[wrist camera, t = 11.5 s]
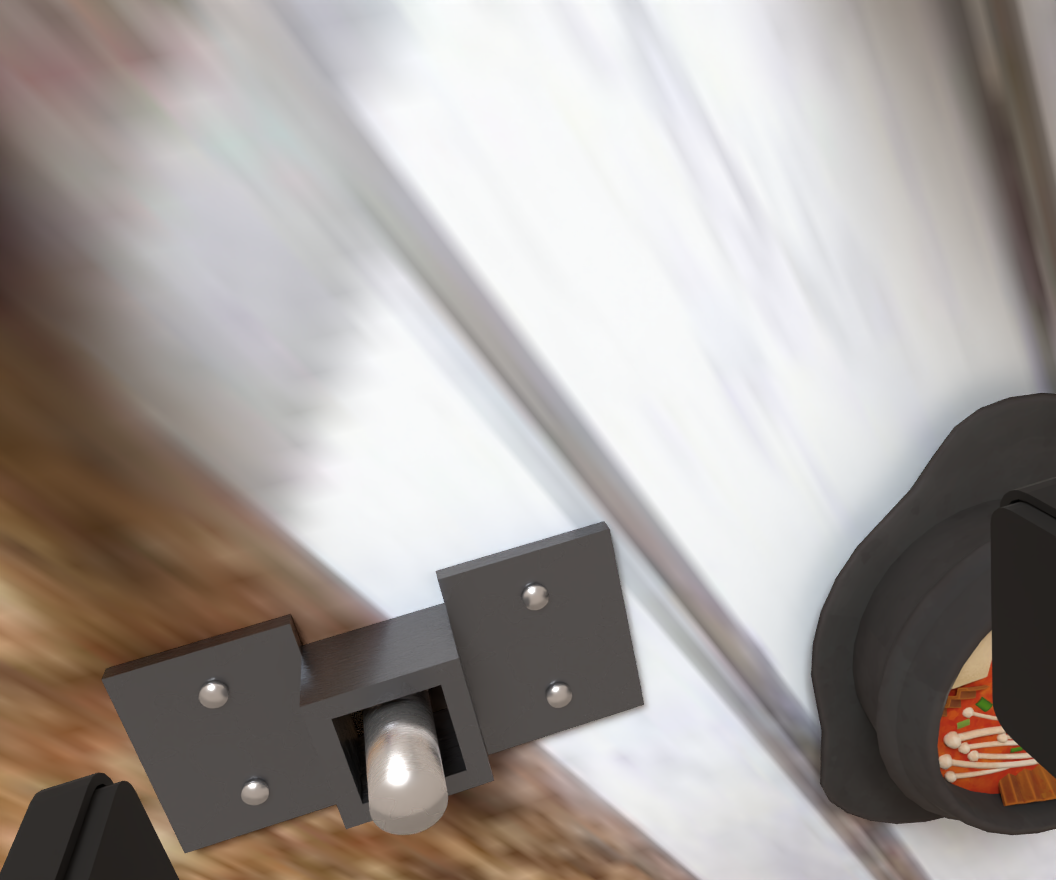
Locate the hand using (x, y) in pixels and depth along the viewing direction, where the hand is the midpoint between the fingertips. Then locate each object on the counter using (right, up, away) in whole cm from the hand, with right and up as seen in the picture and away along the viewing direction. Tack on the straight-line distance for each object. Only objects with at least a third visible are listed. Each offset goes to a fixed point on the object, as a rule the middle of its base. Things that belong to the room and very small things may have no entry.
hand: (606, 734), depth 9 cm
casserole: (+22, -6, +38) cm, 44 cm away
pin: (-7, -8, +32) cm, 34 cm away
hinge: (-7, -8, +32) cm, 34 cm away
